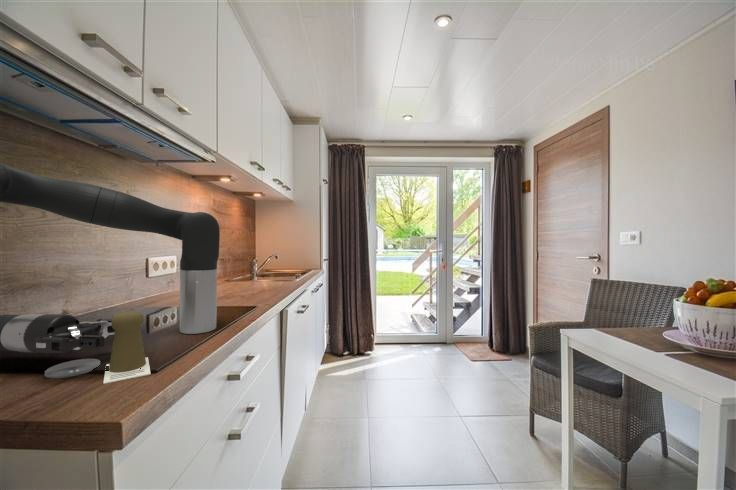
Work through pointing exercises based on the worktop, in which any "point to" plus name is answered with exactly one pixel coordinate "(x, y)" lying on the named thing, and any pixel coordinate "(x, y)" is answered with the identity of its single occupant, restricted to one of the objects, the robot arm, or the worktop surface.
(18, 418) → the worktop surface
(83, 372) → the coaster
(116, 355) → the cork
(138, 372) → the letter
